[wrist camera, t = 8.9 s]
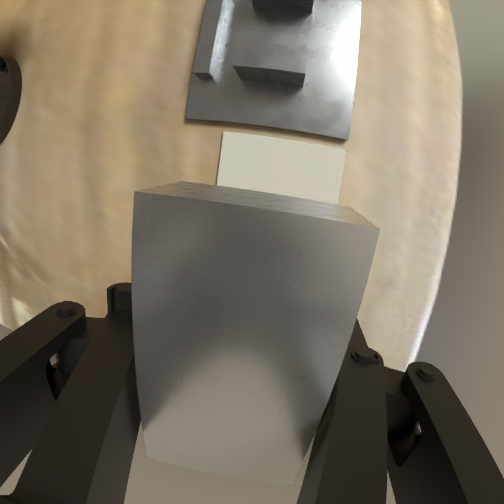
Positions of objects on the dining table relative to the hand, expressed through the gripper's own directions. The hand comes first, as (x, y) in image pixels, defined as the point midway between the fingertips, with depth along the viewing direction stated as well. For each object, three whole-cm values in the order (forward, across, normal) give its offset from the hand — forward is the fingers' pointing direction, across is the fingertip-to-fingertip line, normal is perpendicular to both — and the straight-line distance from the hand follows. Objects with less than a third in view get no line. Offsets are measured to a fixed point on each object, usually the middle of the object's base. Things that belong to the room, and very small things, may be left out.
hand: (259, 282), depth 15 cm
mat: (+17, 0, 0) cm, 17 cm away
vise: (+17, -2, +21) cm, 27 cm away
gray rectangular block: (+3, 0, +2) cm, 3 cm away
